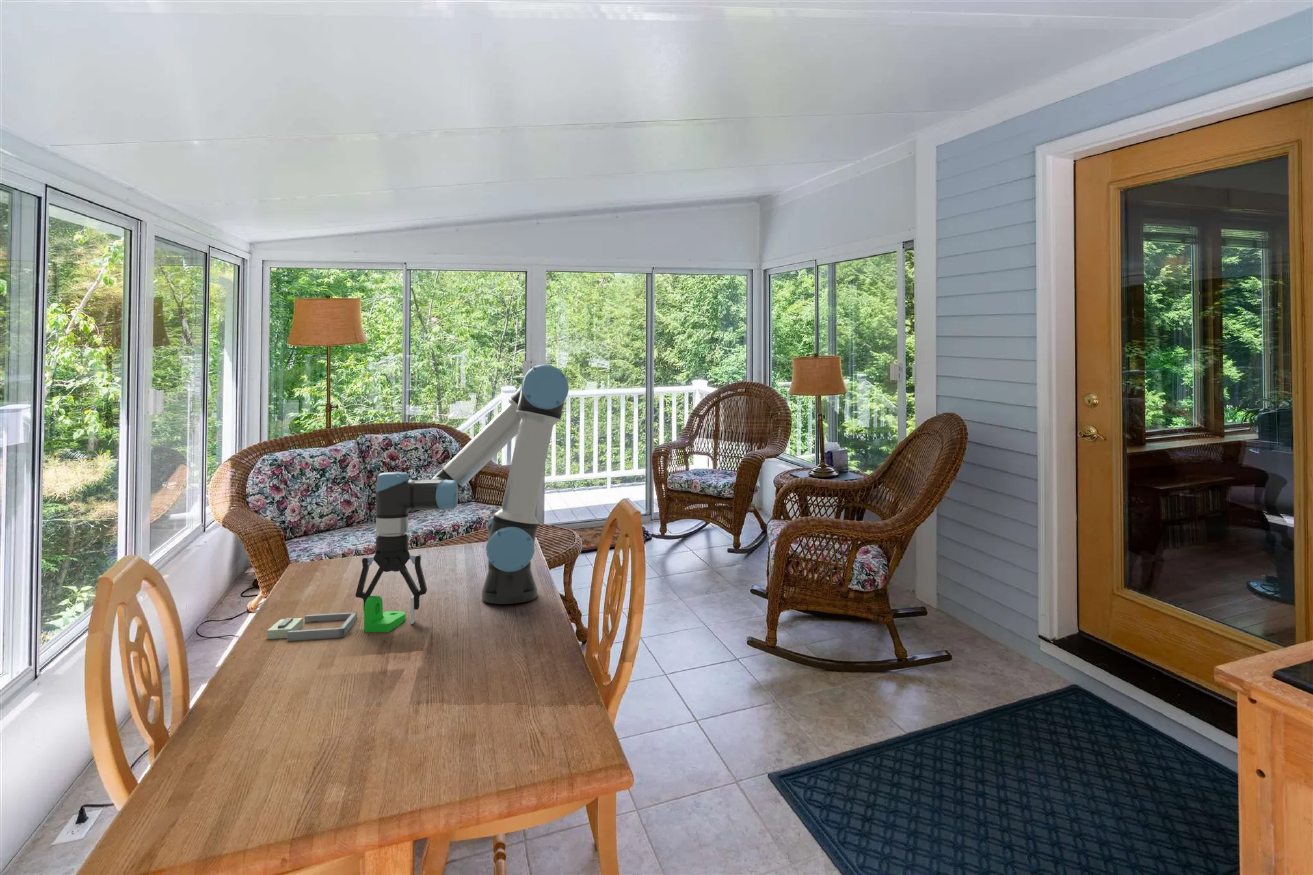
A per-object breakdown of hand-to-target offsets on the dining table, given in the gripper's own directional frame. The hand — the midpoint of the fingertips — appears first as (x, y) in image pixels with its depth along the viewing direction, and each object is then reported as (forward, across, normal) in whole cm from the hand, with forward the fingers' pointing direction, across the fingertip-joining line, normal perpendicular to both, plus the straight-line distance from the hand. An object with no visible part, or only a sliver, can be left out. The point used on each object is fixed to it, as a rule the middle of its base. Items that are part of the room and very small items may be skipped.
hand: (391, 623), depth 166 cm
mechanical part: (+1, +1, 0) cm, 1 cm away
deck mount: (0, +16, +1) cm, 16 cm away
